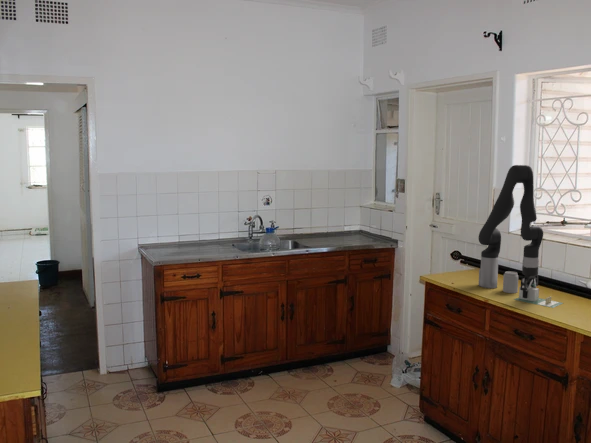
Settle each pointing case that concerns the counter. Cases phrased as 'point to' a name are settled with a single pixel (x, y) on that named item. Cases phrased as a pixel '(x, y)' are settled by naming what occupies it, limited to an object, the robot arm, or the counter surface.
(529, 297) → the block
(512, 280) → the can
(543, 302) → the board
